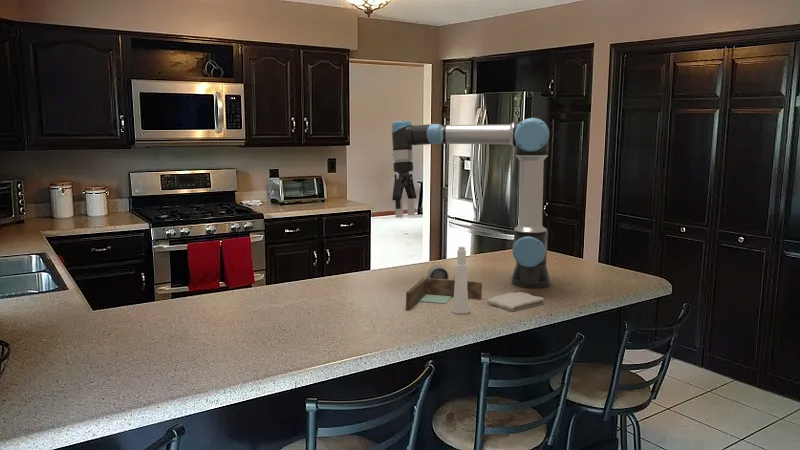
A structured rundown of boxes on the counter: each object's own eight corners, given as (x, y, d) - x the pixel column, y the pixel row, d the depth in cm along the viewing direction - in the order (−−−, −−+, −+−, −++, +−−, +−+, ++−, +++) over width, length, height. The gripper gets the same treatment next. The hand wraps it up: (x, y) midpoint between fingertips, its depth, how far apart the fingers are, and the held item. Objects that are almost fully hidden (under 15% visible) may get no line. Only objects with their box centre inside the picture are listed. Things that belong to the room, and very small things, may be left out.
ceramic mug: (445, 281, 247) (445, 263, 245) (448, 286, 238) (448, 267, 237) (419, 282, 246) (419, 264, 244) (422, 287, 237) (421, 268, 236)
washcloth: (546, 304, 216) (546, 296, 215) (512, 313, 205) (513, 305, 204) (520, 297, 225) (520, 289, 225) (486, 306, 214) (486, 297, 213)
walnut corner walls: (481, 298, 222) (482, 282, 221) (470, 315, 201) (470, 297, 200) (423, 293, 228) (423, 277, 228) (405, 309, 207) (406, 292, 206)
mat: (451, 297, 223) (451, 296, 223) (445, 304, 214) (445, 303, 214) (426, 294, 226) (426, 294, 226) (419, 301, 217) (419, 300, 217)
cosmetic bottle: (456, 314, 202) (458, 249, 198) (448, 310, 207) (449, 246, 204) (472, 312, 204) (474, 248, 201) (463, 308, 209) (465, 245, 206)
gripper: (404, 162, 249) (407, 214, 250) (382, 161, 226) (384, 218, 227) (422, 161, 246) (424, 214, 248) (401, 160, 223) (403, 218, 225)
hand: (405, 216), depth 238 cm, fingers open, 13 cm apart
